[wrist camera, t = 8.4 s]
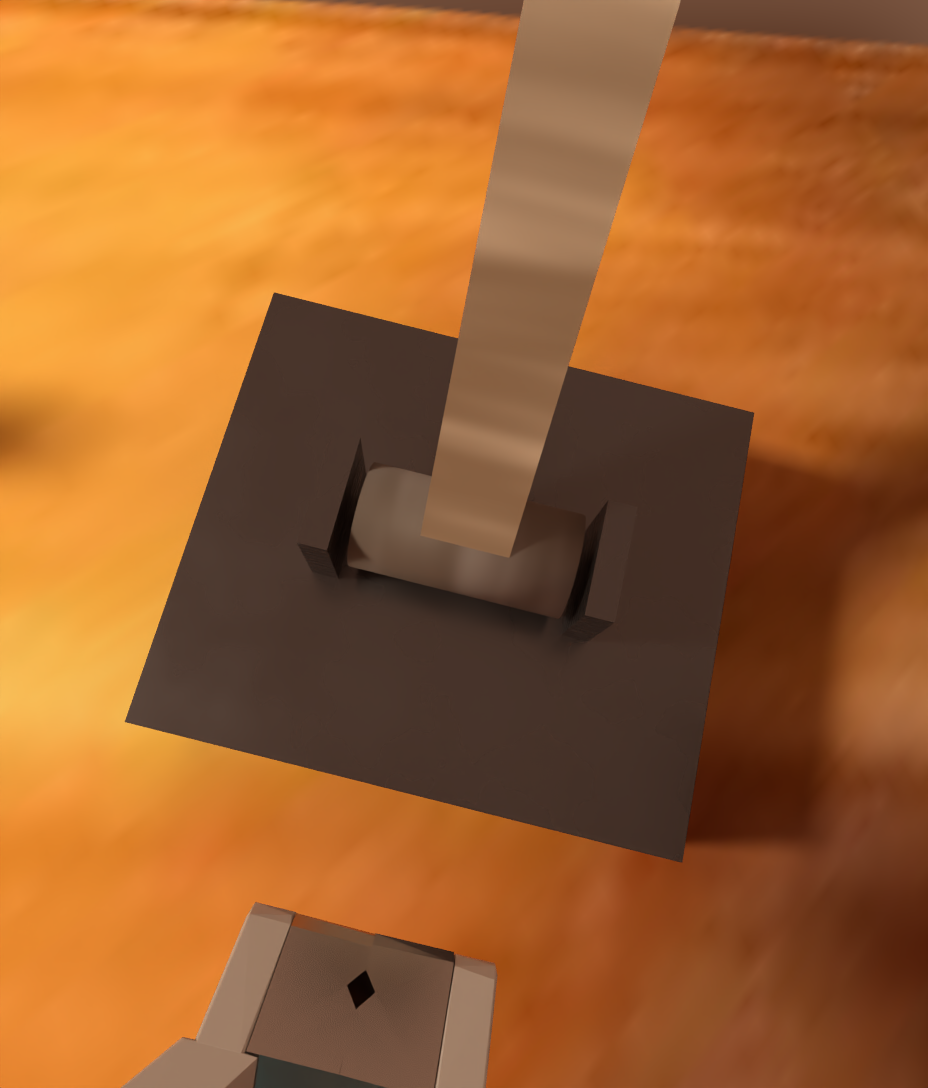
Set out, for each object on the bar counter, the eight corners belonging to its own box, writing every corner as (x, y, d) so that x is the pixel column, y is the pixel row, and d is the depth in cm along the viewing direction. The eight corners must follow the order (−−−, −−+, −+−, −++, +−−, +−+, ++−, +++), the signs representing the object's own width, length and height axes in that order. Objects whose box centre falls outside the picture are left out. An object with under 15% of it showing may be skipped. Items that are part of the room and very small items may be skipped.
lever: (550, 654, 23) (1157, -847, 7) (338, 600, 23) (507, -1006, 7) (562, 554, 25) (1016, -669, 10) (374, 507, 25) (549, -783, 10)
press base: (627, 842, 29) (727, 879, 20) (182, 730, 29) (76, 715, 20) (692, 475, 32) (802, 363, 23) (298, 376, 32) (254, 226, 23)
